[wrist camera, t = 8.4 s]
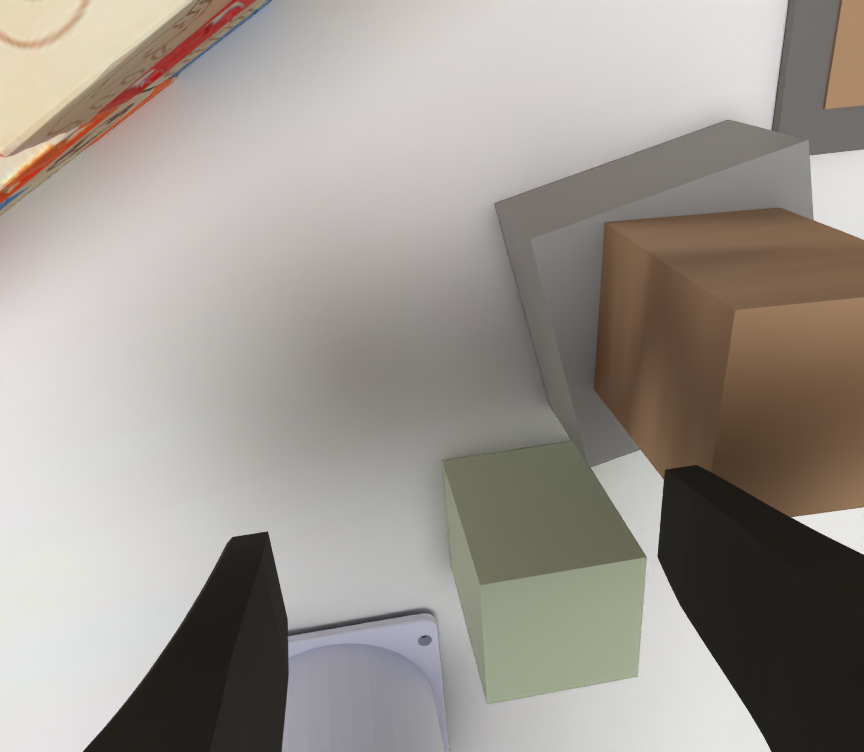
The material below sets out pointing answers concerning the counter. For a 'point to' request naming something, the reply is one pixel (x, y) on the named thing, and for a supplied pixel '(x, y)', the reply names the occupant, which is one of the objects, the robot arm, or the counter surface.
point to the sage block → (542, 571)
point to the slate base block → (583, 247)
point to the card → (823, 75)
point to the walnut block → (739, 351)
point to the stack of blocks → (90, 72)
